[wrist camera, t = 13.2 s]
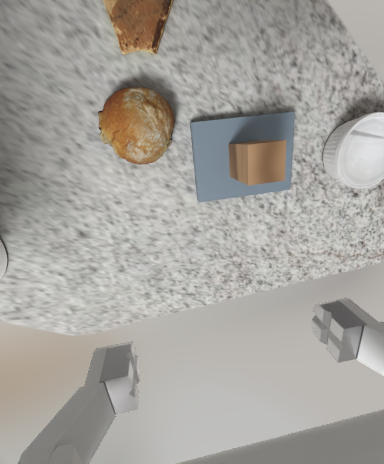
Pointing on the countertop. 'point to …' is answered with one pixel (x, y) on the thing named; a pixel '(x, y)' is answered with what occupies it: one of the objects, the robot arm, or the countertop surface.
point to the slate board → (217, 153)
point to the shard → (138, 23)
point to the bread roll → (137, 124)
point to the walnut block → (258, 161)
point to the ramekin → (357, 151)
